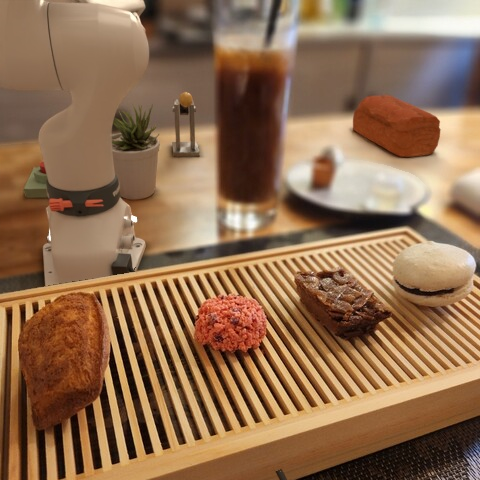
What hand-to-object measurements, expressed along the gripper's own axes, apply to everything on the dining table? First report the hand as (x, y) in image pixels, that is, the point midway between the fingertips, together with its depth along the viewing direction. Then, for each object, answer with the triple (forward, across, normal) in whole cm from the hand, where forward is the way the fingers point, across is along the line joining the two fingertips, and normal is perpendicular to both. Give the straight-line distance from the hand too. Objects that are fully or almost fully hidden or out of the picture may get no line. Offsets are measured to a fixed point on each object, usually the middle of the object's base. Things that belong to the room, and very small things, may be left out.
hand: (135, 36), depth 104 cm
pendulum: (+24, +10, +16) cm, 31 cm away
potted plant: (+26, -19, +15) cm, 35 cm away
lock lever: (+18, +5, +5) cm, 19 cm away
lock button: (+9, -23, +26) cm, 36 cm away
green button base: (+12, -24, +28) cm, 39 cm away
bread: (+62, +46, -21) cm, 80 cm away
